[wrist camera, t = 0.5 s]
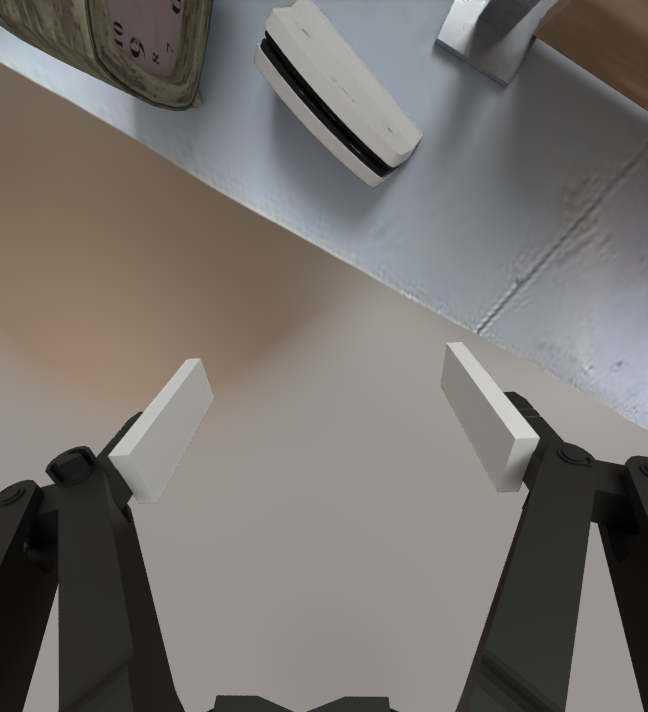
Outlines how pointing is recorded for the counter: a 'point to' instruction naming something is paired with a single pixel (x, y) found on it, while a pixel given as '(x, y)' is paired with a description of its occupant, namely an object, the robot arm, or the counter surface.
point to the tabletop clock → (122, 42)
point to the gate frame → (492, 33)
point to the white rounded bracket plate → (335, 92)
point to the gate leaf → (603, 41)
